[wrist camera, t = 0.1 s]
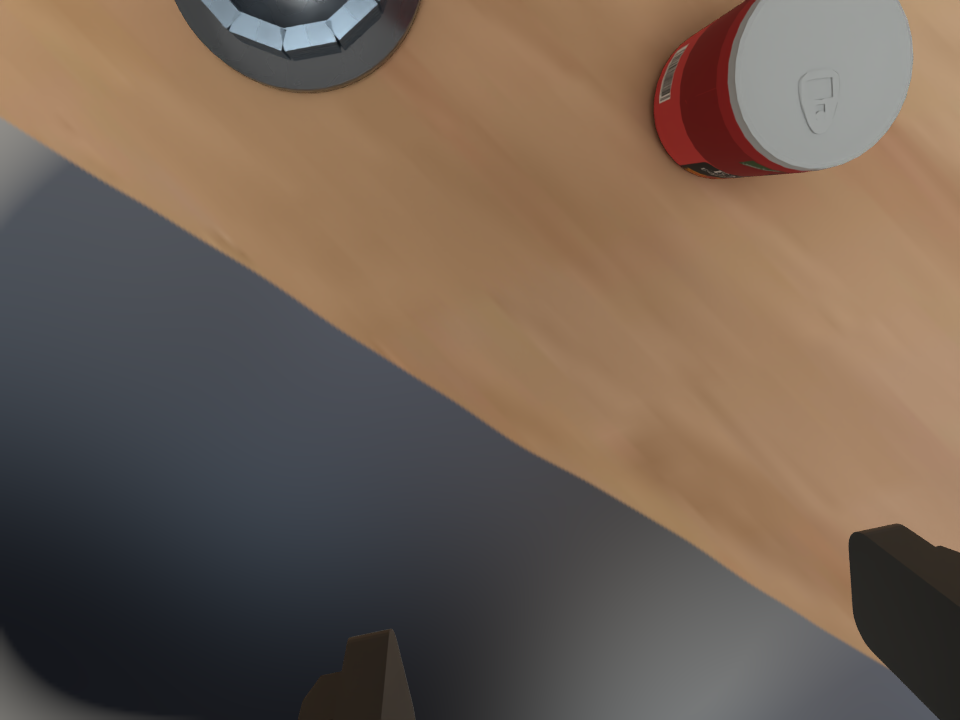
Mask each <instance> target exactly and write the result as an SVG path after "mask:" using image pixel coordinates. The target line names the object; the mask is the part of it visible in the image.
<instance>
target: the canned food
mask: <svg viewBox="0 0 960 720" xmlns="http://www.w3.org/2000/svg"><path fill="white" fill-rule="evenodd" d="M912 65H913V47H912V36H911V32H910V28H909V24H908V20H907V17H906V15H905V13H904V11H903V9H902V7H901V5H900V2H899V1H898V0H746V1H744V2H743V3H741V4H740V5H738V6H737V7H735V8H734V9H732V10H731V11H729V12H728V13H726V14H725V15H723V16H722V17H720V18H719V19H717V20H716V21H714V22H712V23H711V24H709V25H708V26H706V27H705V28H703V29H702V30H700V31H699V32H697V33H696V34H694V35H693V36H691V37H690V38H689V39H687V40H686V41H685V42H684V43H682V44H681V45H680V46H679V47H678V48H677V49H676V51H675V52H674V53H673V54H672V55H671V56H670V58H669V60H668V61H667V63H666V65H665V66H664V68H663V70H662V73H661V75H660V78H659V81H658V83H657V88H656V93H655V98H654V120H655V126H656V130H657V133H658V136H659V139H660V141H661V143H662V145H663V146H664V148H665V150H666V151H667V153H668V154H669V155H670V156H671V157H672V158H673V159H674V160H675V162H676V163H677V164H679V165H680V166H681V167H683V168H684V169H686V170H687V171H689V172H691V173H693V174H695V175H698V176H700V177H705V178H710V179H726V178H738V177H751V176H763V175H776V174H789V173H801V172H808V171H818V170H822V169H826V168H831V167H835V166H837V165H841V164H844V163H846V162H848V161H850V160H852V159H854V158H857V157H859V156H860V155H861V154H863V153H864V152H865V151H867V150H868V149H870V148H871V147H872V146H874V145H875V144H876V142H877V141H878V140H879V139H880V138H881V137H882V136H883V135H884V134H885V133H886V132H887V131H888V129H889V128H890V126H891V125H892V123H893V122H894V120H895V119H896V117H897V116H898V114H899V111H900V109H901V107H902V105H903V103H904V100H905V98H906V95H907V91H908V88H909V84H910V80H911V75H912Z"/></svg>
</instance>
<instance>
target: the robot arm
mask: <svg viewBox="0 0 960 720" xmlns="http://www.w3.org/2000/svg"><path fill="white" fill-rule="evenodd" d="M849 560H850V575H851V590H852V605H853V614H854V619H855V622H856V625H857V628H858V630H859V632H860V635H861V636H862V638H863V640H864V642H865V643H866V645H867V646H868V647H869V649H870V650H871V651H872V652H873V653H874V654H875V655H876V656H877V657H878V658H879V659H880V660H881V661H882V662H883V663H884V664H885V665H886V666H887V667H888V668H889V669H890V670H891V671H892V672H893V673H894V674H895V675H896V676H897V677H898V678H899V679H900V680H901V681H902V682H903V683H904V684H905V685H906V686H907V687H908V688H909V689H910V690H911V691H912V692H913V693H914V694H915V695H916V696H917V697H918V698H919V699H920V700H921V701H922V702H923V703H924V704H925V705H926V706H927V707H928V708H929V709H930V710H931V711H932V712H933V713H934V714H935V715H936V716H937V717H938V718H939V719H940V720H960V553H959V552H957V551H954V550H951V549H948V548H946V547H943V546H937V547H935V546H933V545H932V544H930V543H929V542H927V541H926V540H924V539H923V538H921V537H920V536H918V535H917V534H915V533H914V532H912V531H911V530H910V529H908V528H907V527H905V526H903V525H901V524H892V525H887V526H882V527H878V528H873V529H868V530H863V531H859V532H854V533H853V534H852V535H851V536H850V539H849ZM298 720H415V714H414V709H413V704H412V700H411V696H410V692H409V688H408V684H407V680H406V676H405V672H404V667H403V663H402V660H401V655H400V651H399V647H398V643H397V640H396V637H395V633H394V631H393V630H392V629H388V630H383V631H378V632H374V633H369V634H364V635H359V636H355V637H350V638H349V639H348V642H347V646H346V652H345V657H344V662H343V668H342V671H341V672H336V673H332V674H327V675H322V676H320V678H319V679H318V681H317V682H316V683H315V685H314V686H313V688H312V689H311V690H310V692H309V693H308V694H307V696H306V697H305V698H304V700H303V702H302V706H301V710H300V714H299V718H298Z"/></svg>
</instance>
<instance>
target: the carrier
mask: <svg viewBox="0 0 960 720" xmlns="http://www.w3.org/2000/svg"><path fill="white" fill-rule="evenodd" d="M420 1H421V0H175V2H176V4H177V6H178V8H179V10H180V12H181V13H182V15H183V17H184V18H185V20H186V22H187V23H188V25H189V26H190V28H191V29H192V30H193V31H194V33H195V34H196V35H197V37H198V38H199V39H200V40H201V41H202V42H203V43H204V44H205V45H206V46H207V47H208V48H209V49H210V50H211V51H212V52H213V53H214V54H215V55H216V56H217V57H219V58H220V59H221V60H222V61H224V62H225V63H226V64H227V65H229V66H230V67H232V68H233V69H235V70H236V71H238V72H240V73H241V74H243V75H244V76H246V77H248V78H249V79H252V80H254V81H256V82H258V83H261V84H263V85H265V86H269V87H272V88H275V89H279V90H283V91H290V92H296V93H317V92H326V91H331V90H335V89H339V88H343V87H345V86H348V85H350V84H353V83H355V82H358V81H359V80H361V79H363V78H364V77H366V76H368V75H370V74H371V73H373V72H374V71H375V70H376V69H378V68H379V67H380V66H381V65H383V64H384V63H385V62H386V61H387V60H388V59H389V58H390V57H391V56H392V55H393V53H394V52H395V51H396V50H397V49H398V47H399V46H400V44H401V43H402V42H403V40H404V39H405V37H406V35H407V33H408V32H409V30H410V28H411V26H412V24H413V22H414V19H415V16H416V14H417V11H418V9H419V5H420Z"/></svg>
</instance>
